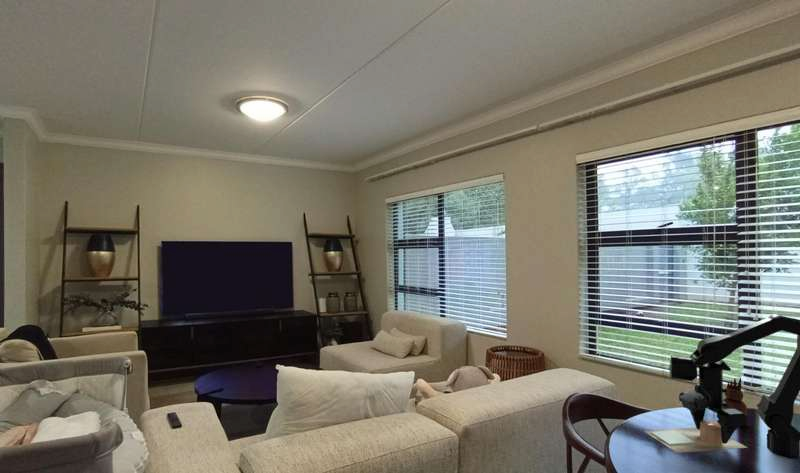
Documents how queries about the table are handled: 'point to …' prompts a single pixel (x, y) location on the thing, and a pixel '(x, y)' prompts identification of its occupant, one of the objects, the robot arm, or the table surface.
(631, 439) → the table surface
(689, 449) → the board
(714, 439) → the cap
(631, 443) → the table surface
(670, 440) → the pad
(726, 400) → the wooden figurine
